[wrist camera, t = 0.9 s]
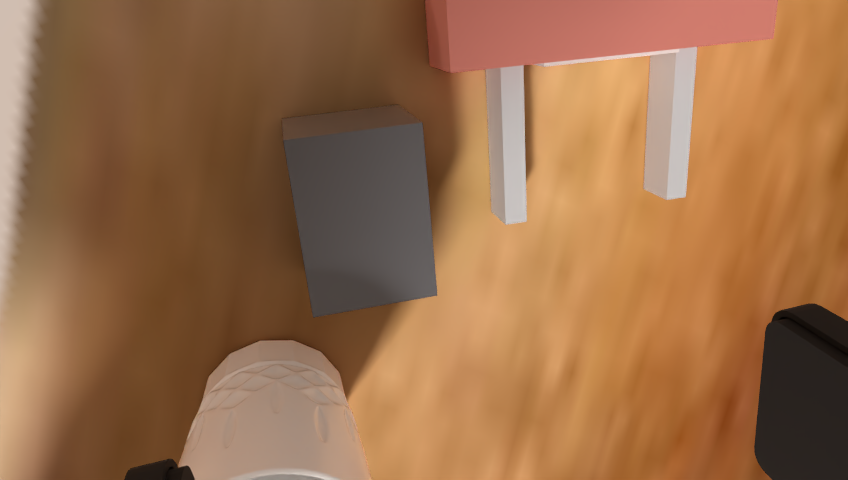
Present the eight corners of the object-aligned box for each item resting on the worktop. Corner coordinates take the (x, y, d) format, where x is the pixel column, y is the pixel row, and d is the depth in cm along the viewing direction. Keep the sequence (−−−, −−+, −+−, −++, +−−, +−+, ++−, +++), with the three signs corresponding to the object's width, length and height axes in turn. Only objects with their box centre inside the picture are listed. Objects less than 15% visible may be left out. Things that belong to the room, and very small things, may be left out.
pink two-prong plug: (705, 179, 32) (805, 218, 26) (440, 219, 29) (483, 271, 23) (740, -219, 25) (882, -289, 20) (409, -211, 23) (455, -290, 17)
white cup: (317, 300, 29) (335, 432, 20) (377, 424, 32) (418, 587, 23) (158, 368, 29) (103, 536, 19) (236, 488, 32) (219, 681, 22)
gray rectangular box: (412, 251, 30) (437, 295, 25) (306, 268, 29) (312, 317, 24) (397, 104, 27) (422, 122, 22) (281, 118, 26) (283, 140, 22)
